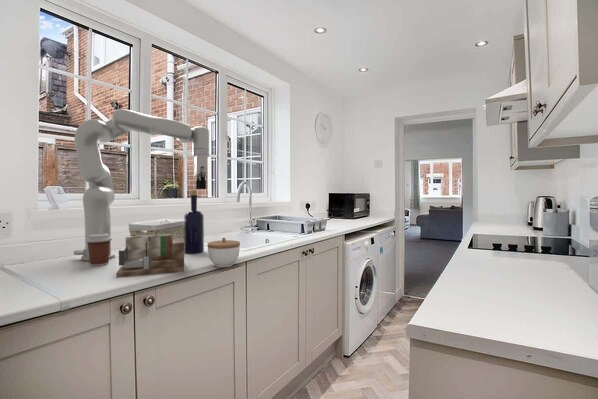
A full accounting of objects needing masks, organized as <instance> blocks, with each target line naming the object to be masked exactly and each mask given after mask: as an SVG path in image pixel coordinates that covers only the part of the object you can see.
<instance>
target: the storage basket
mask: <svg viewBox="0 0 598 399" xmlns="http://www.w3.org/2000/svg"><path fill="white" fill-rule="evenodd" d="M128 231H129V236H150V235H173V234H176V238H184V219H176V218H172V219H171V218H162V219H153V220H145V221H137V222H129V223H128ZM184 248H185V246H184Z"/></svg>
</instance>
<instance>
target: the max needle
mask: <svg viewBox="0 0 598 399" xmlns="http://www.w3.org/2000/svg"><path fill="white" fill-rule="evenodd" d="M144 269H149V257H147V242H146V257H144Z"/></svg>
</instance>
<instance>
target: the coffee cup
mask: <svg viewBox="0 0 598 399" xmlns="http://www.w3.org/2000/svg"><path fill="white" fill-rule="evenodd" d="M110 241H111V242H112V241H113V237H112V236H111V237H110V236H109V234H91V235H89V238H87V239H86V240H85V239H84V243H85V242H87V243H88V252H89V260H90V261H89V266H90V267H99V266H107V265H109V261H110V260H109V250H110Z"/></svg>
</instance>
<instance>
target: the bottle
mask: <svg viewBox="0 0 598 399" xmlns="http://www.w3.org/2000/svg"><path fill="white" fill-rule="evenodd" d="M189 196H190V211H187V212H186V213H185V214H184V216H183V217H184V219H183V220H184V246H185V247H184V254H186V255H199V254H202V253H205V246H204V245H205V238H204V237H205V235H204V234H205V231H204V230H205V229H204V228H205V226H204V225H205V224H204V223H205V222H204V218H205V217H204V214H203V212H201V211H199V210H198V206H197V205H198V189H195V190H193V189H191V190H190V195H189Z"/></svg>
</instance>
